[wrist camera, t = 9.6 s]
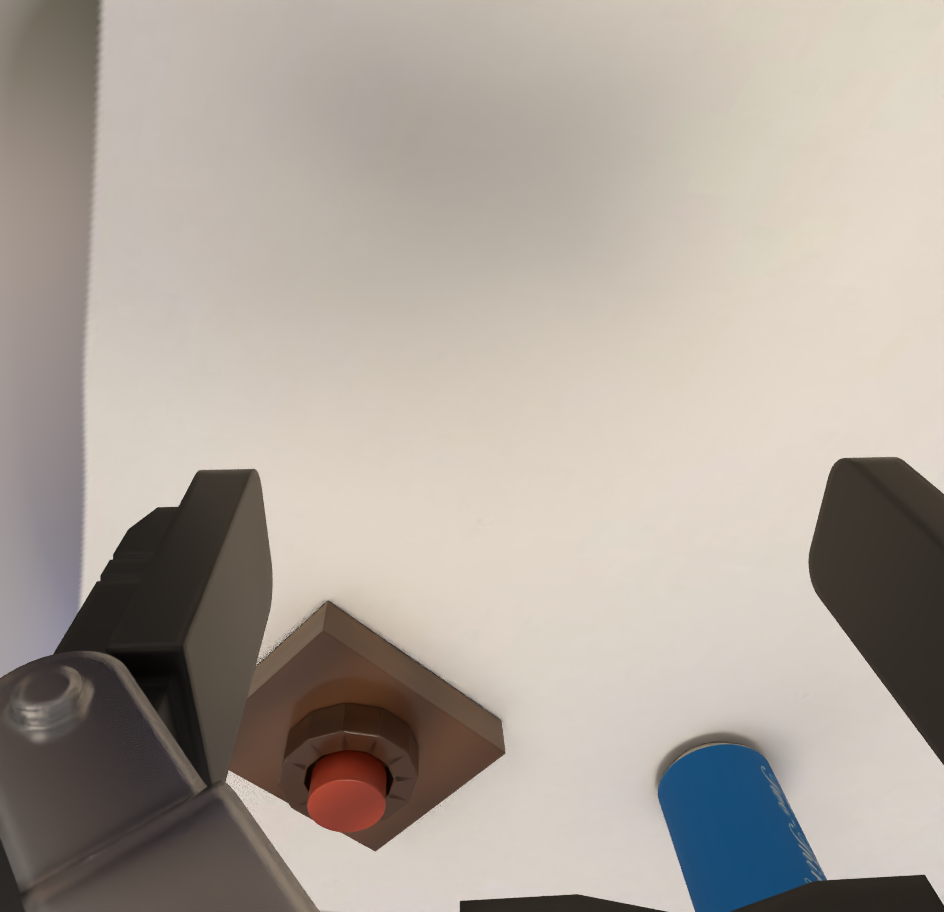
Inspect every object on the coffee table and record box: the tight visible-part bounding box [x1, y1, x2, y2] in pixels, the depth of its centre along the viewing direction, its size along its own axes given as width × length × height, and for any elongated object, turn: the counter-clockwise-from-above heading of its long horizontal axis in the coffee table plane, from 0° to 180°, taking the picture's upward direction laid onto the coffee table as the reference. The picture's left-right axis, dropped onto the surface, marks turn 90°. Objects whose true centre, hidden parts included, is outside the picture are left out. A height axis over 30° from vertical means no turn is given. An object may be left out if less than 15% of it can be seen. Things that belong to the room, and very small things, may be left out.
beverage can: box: [658, 742, 827, 912], centre depth 39 cm, size 6×6×12 cm
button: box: [307, 750, 387, 832], centre depth 37 cm, size 4×4×2 cm
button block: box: [229, 602, 505, 851], centre depth 39 cm, size 12×10×4 cm
